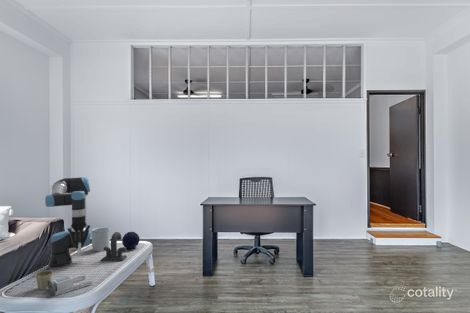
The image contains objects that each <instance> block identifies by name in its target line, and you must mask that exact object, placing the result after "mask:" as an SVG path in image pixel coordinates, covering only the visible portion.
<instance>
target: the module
mask: <svg viewBox="0 0 470 313" xmlns="http://www.w3.org/2000/svg"><path fill="white" fill-rule="evenodd" d="M73 279H74V277H72V276H71V275H67V276H63V277H60V278H58V279H57V278H56V279H54V280H53V282H52V283H53V284H54V286H55V289H56V291H59V290H62V289H66V288H69V287H72V286H75V284H74V283H75V282H73Z"/></svg>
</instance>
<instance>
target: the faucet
mask: <svg viewBox="0 0 470 313" xmlns="http://www.w3.org/2000/svg"><path fill="white" fill-rule="evenodd" d="M122 238H123V237H122V235H121V233H120V232H118V231H115V232H114V233H113V234H112V235H111V237H110V246H109V247H104V251H105V253H106V255H105V256H104V257H103V258H101V259H100V262H123V261H124V260H126V259H127V258H128V256H127V255H126V254H124V255H123V253H122V252H126V251H127V248H126V247H124V246H121V247H119V248H118V246H117V244H118V241H120V240H121V241H122Z"/></svg>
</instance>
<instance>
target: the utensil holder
mask: <svg viewBox="0 0 470 313" xmlns="http://www.w3.org/2000/svg"><path fill="white" fill-rule="evenodd" d="M110 230H111V228H110V227H105V226H103V227H101V226H100V227H96V228H93V229H91V248H92V251H93V252H103V250H104V247H109V248H110V246H111V237H110V236H111V235H110V232H111V231H110Z"/></svg>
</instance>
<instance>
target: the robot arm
mask: <svg viewBox="0 0 470 313" xmlns="http://www.w3.org/2000/svg"><path fill="white" fill-rule="evenodd" d="M90 192H91V188H90V182H89V179H88V177H65V178H61V179H59V180H57V181H56V182H54V183H53V185H52V186H51V194H46V196H45V199H44V200H45V203H44V204H45V206H46V207H49V208H53V207H63V206H71V225H70V227H69V228H66V230H64V231H60V232H57V233H56V232H55V233H53V235H52V236H51V237H50V243H51V245H50V252H51V253H50V258H49V261H48V267H49V268H59V267H60V268H61V267H64V266H67V265H71V263H72V262H73V258H72V256H71V253H70V249H77V253H76V254H78V255H81V254H82V249H83V247H88V246H89V245H90V243H91V237H92V230H90V228H91V225H89V224H88V223H87V196H88V195H89V193H90Z"/></svg>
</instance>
